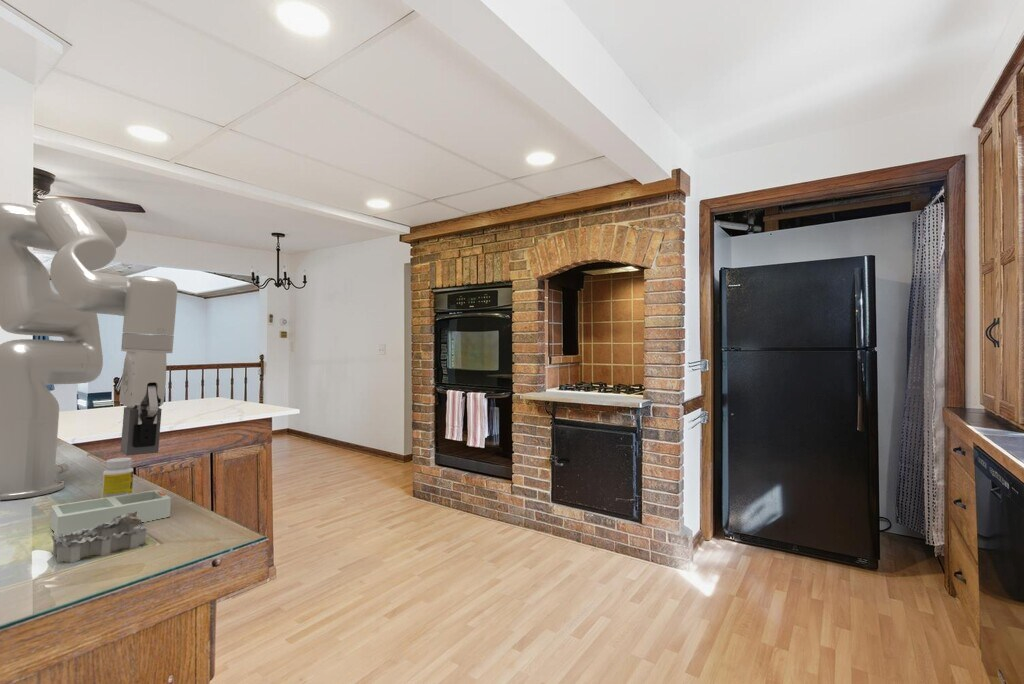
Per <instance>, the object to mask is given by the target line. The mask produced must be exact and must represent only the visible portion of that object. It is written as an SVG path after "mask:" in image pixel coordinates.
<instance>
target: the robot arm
mask: <svg viewBox="0 0 1024 684" xmlns="http://www.w3.org/2000/svg"><path fill="white" fill-rule="evenodd" d="M127 234H128V231H127V226H126V223H125V221H124V219H123V218H122V217H121V215H119V214H118V213H116V212H114V211H112V210H110V209H107V208H102V207H99V206H96V205H92V204H88V203H85V202H81V201H78V200H74V199H70V198H69V199H68V198H63V197H52V198H47V199H43V200H42V201H41V202H39V203H38V204H37V206H36V207H35V206H29V205H25V204H20V203H15V202H14V203H13V202H0V328H1V329H2V330H3V331H5V332H6V333H9V334H14V335H21V336H22V335H25V336H36V337H37V336H39V337H40V336H41V337H60V338H62V339H63V340H53V339H36V338H35V339H29V338H28V339H27V338H25V339H23V338H22V339H21V338H20V339H11V340H7V341H5V342H3V343H1V344H0V501H7V500H15V499H17V500H18V499H24V498H25V499H26V498H31V497H37V496H38V497H39V496H43V495H47V494H52V493H54V492H57V491H60V490H62V489H64V487H65V481H63V480H61V479H58V478H57V476H58V475H59V474H63V473H65V472H68V470H69V469H70V468H69V465H68V463H61V464H57V462H56V461H57V451H58V450H57V447H58V433H59V432H58V431H59V420H60V419H59V418H60V404H59V402H58V400H57V398H56V397H55V395H54V394H53V393H52V392H51V391H50V390H49V389H48V388H47V387H48V386H51V385H52V386H53V385H75V384H79V385H80V384H87V383H91V382H94V381H95V380H96V379H98V378H99V377H100V376H101V373H102V370H103V366H104V358H103V357H104V356H103V349H102V341H101V334H100V333H101V332H100V325H99V319H98V314H101V315H112V316H120V317H123V324H122V337H121V345H120V346H121V348H120V351H121V352H126V354H125V357H124V362H123V368H122V374H121V375H122V376H121V380H120V390H119V397H118V398H119V399H118V402H119V403H121V404H122V405H123V406H124V407H129V408H134V407H135V406H137V425H134V433H133V447H135V448H137V447H148V446H154V445H155V442H156V429H157V411H158V407H159V408H160V407H161V406H163V405H164V402H165V395H166V385H167V383H166V380H167V365H168V363H167V354H173V351H174V350H173V349H174V334H175V326H176V325H175V324H176V312H177V300H178V286H177V284H176V282H175V281H173V280H171V279H168V278H164V277H158V276H157V277H156V276H149V275H147V276H146V275H136V276H135V275H134V276H126V275H121V274H115V273H108V272H101V271H97V270H100V269H102V268H104V267H106V266H108V265H109V264H111V263H112V261H113V260H114V259H115V257H116V255H117V249H118V248H119V247H121V246H122V245H123V243H124V242H125V241H126V238H127ZM28 247H29V248H33V249H40V250H45V251H51V252H56V253H55V254H54V256H53V257H52V260H51V264H50V270H49V271H50V274H49V271H48V270H47V268H46V266H45V265H44V264H43V263H42V261H41V260H40V259H39V258H38V257H37V256H36V255H35V254H34V253H32V252H31V251H30V250H29V249H28ZM50 280H51V281H50ZM51 283H52V285H53V288H54V289H55V290H56V292H57V293H56V292H54V291H53V290H52V288H51ZM141 406H145V407H141ZM146 410H147V411H146ZM142 411H144V412H143V413H142Z"/></svg>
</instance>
